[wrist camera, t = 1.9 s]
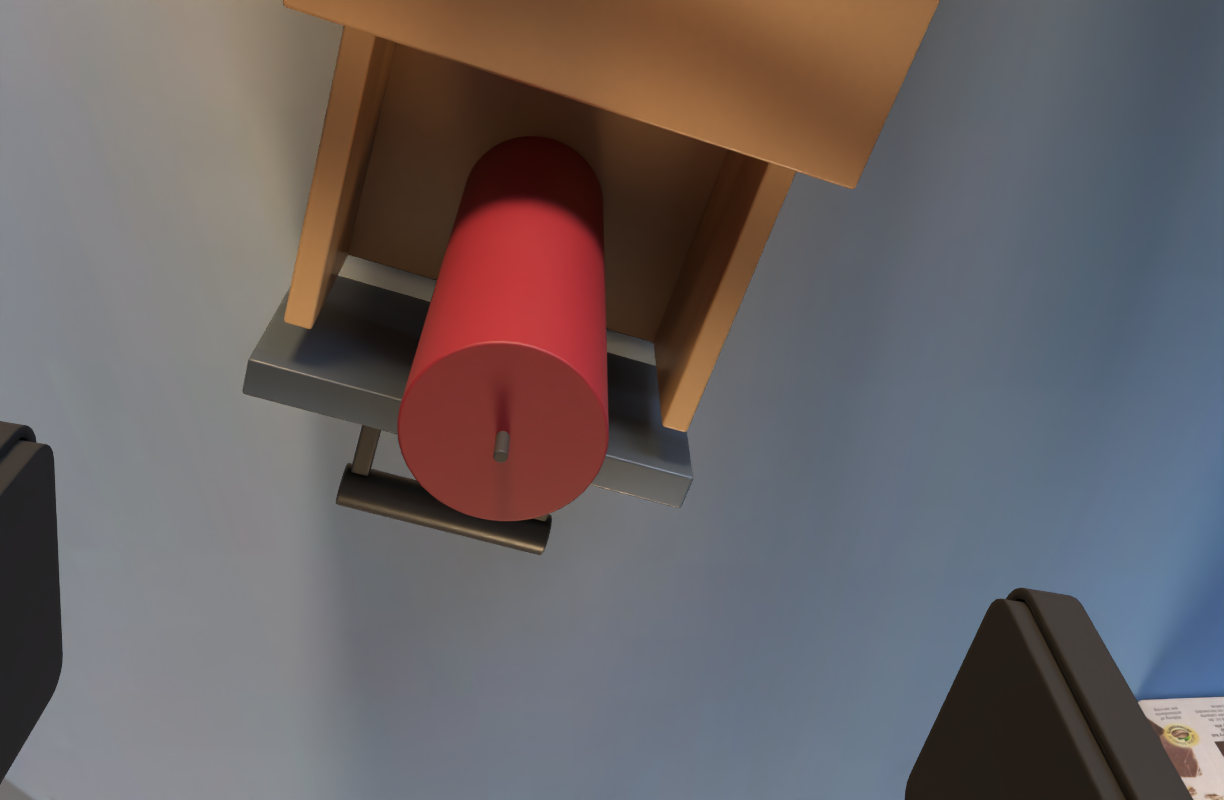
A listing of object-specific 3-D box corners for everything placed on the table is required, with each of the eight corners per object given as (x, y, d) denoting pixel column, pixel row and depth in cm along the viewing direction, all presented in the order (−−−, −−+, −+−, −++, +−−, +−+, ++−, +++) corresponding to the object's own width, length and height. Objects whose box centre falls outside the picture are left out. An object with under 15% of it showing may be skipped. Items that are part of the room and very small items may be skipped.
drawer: (626, 502, 43) (631, 622, 37) (271, 409, 40) (217, 521, 34) (816, 31, 34) (864, 88, 28) (381, -120, 32) (333, -92, 26)
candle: (484, 280, 37) (426, 561, 24) (446, 151, 35) (361, 384, 22) (616, 253, 36) (628, 525, 24) (586, 121, 34) (583, 341, 21)
